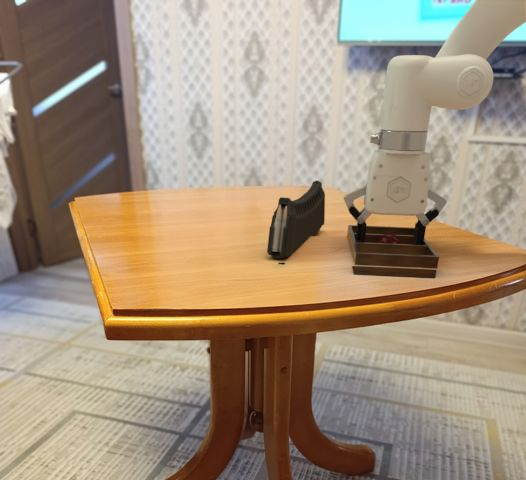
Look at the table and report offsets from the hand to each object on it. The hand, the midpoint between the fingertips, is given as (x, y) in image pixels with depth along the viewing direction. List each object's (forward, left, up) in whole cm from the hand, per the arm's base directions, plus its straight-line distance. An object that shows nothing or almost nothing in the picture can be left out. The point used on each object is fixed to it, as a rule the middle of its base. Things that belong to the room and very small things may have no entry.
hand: (388, 245), depth 91 cm
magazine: (+16, -5, -3) cm, 17 cm away
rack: (0, 0, -2) cm, 2 cm away
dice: (0, 0, -2) cm, 2 cm away
